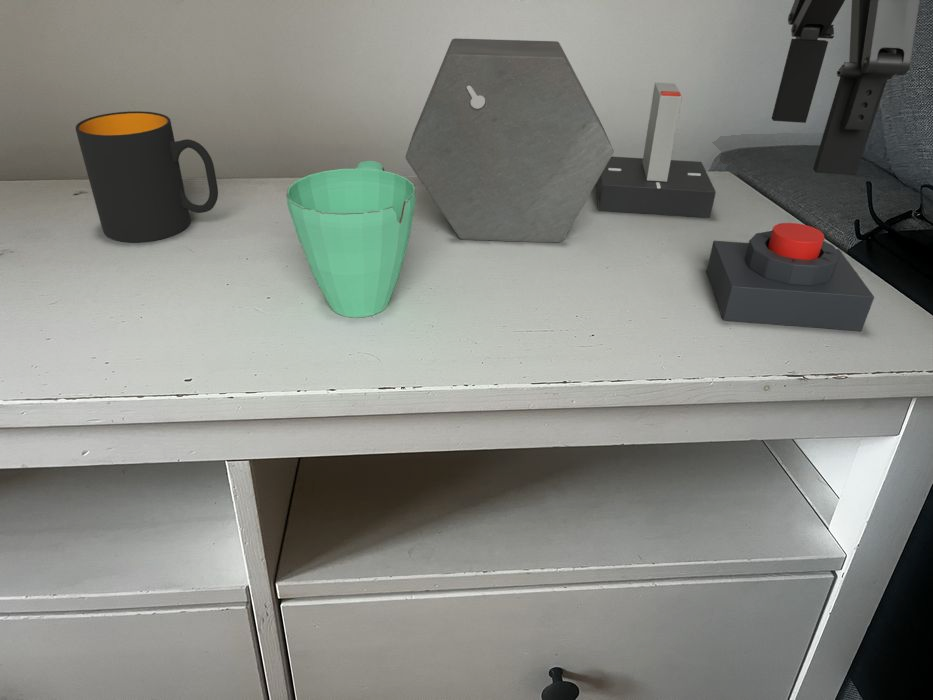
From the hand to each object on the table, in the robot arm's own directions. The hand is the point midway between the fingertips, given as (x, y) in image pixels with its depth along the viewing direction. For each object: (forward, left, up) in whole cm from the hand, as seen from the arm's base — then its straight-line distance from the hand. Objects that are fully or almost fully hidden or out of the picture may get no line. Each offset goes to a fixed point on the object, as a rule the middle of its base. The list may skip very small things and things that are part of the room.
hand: (808, 144), depth 57 cm
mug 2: (+35, +5, -13) cm, 38 cm away
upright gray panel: (+8, -22, -10) cm, 25 cm away
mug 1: (+58, -5, -13) cm, 60 cm away
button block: (-1, +1, -13) cm, 13 cm away
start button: (-1, +1, -9) cm, 9 cm away
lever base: (+8, -22, -13) cm, 27 cm away
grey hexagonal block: (+24, -11, -13) cm, 30 cm away
